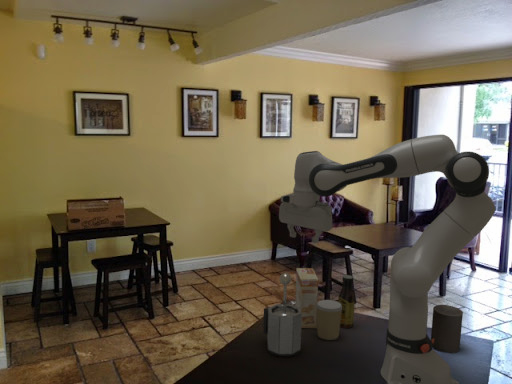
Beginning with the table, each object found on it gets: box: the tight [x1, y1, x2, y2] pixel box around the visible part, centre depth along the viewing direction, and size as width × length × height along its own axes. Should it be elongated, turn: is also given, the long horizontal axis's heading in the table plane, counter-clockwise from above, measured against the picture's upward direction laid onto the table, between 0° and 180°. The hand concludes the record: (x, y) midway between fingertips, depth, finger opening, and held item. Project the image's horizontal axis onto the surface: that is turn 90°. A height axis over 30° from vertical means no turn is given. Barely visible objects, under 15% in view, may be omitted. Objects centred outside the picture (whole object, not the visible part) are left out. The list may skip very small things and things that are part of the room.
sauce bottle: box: [337, 274, 356, 329], centre depth 174 cm, size 7×6×20 cm
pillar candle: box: [430, 304, 464, 354], centre depth 157 cm, size 10×10×15 cm
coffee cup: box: [316, 299, 342, 341], centre depth 165 cm, size 9×9×12 cm
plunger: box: [274, 272, 296, 315], centre depth 152 cm, size 8×8×14 cm
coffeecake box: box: [294, 267, 319, 329], centre depth 178 cm, size 15×7×20 cm, turn 1°
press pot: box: [262, 303, 302, 358], centre depth 155 cm, size 14×11×14 cm
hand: (303, 239), depth 152 cm, fingers open, 8 cm apart
